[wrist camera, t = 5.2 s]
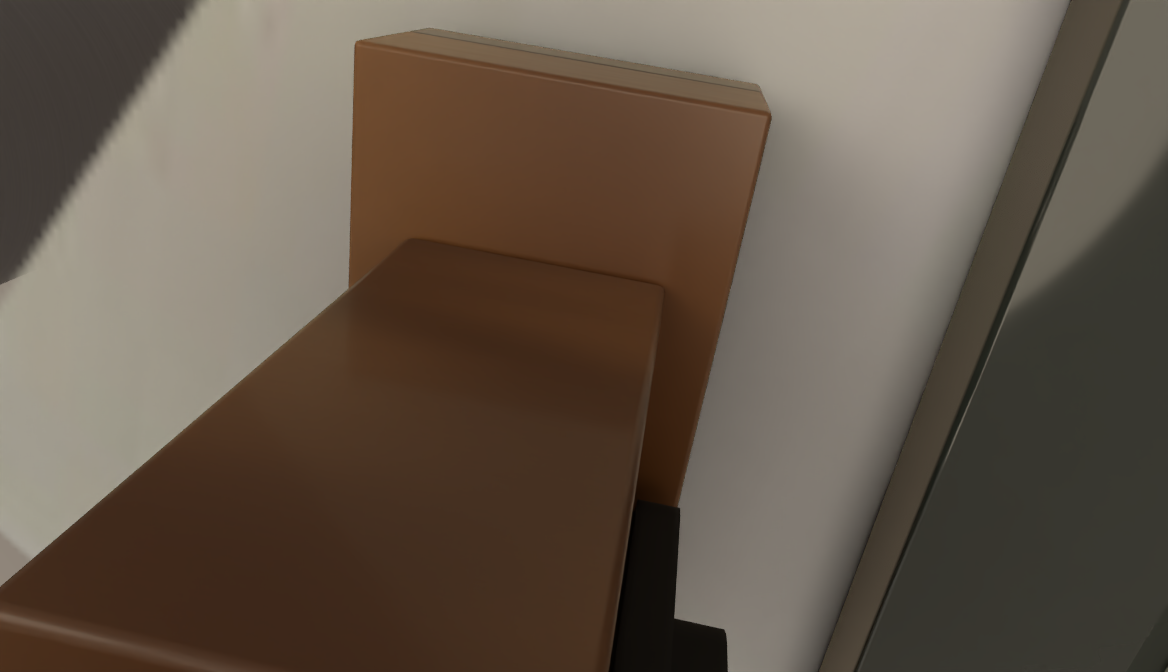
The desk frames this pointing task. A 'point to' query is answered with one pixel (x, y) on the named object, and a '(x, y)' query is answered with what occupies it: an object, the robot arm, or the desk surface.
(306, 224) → the desk surface
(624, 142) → the brown stepped wooden block
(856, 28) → the desk surface
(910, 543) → the slate board
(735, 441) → the desk surface
